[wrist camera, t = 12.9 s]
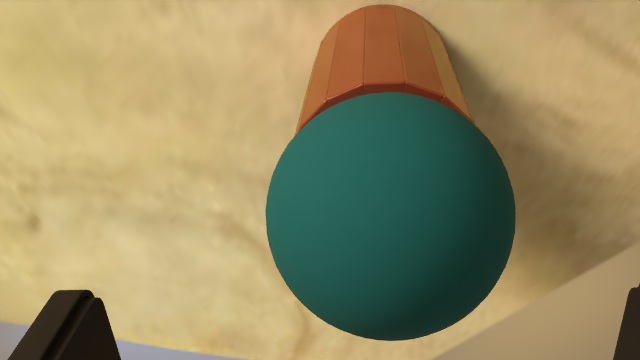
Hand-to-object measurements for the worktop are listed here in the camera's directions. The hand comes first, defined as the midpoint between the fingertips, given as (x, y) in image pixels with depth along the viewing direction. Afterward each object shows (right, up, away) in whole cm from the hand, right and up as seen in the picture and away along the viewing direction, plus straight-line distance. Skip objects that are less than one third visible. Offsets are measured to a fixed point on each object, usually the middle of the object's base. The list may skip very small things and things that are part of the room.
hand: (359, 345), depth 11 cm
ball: (+1, +4, +7) cm, 8 cm away
